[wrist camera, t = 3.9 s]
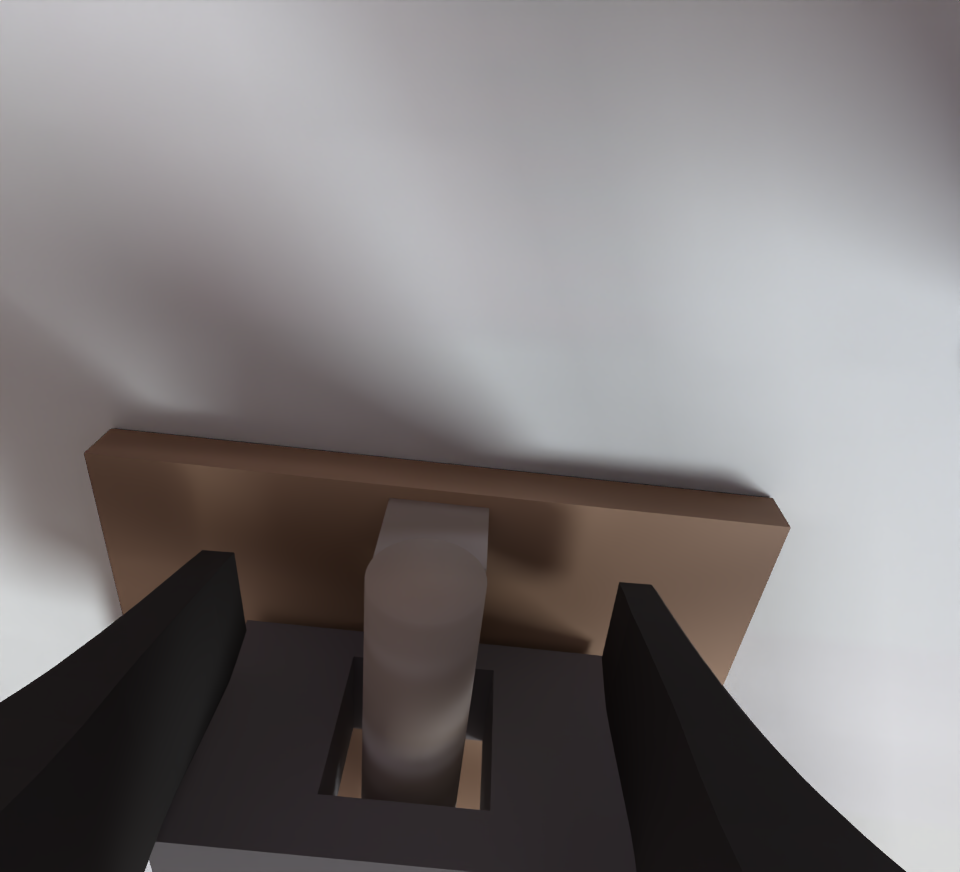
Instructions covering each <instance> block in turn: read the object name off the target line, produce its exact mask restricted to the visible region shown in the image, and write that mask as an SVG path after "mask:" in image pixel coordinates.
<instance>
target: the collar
mask: <svg viewBox="0 0 960 872" xmlns="http://www.w3.org/2000/svg"><path fill="white" fill-rule="evenodd" d="M246 630H247V631H246V634H245V637H244V640H243V643H242V646H241V649H240V652H239V655H238V659H237V661H236V664H235V667H234V670H233V673H232V676H231V678H230V681H229V683H228V686H227V688H226V690H225V692H224V694H223V696H222V698H221V701H220V703H219V705H218V707H217V709H216V711H215V713H214V715H213V717H212V719H211V722H210V724H209V726H208V728H207V730H206V732H205V734H204V736H203V738H202V740H201V742H200V744H199V746H198V748H197V750H196V752H195V755H194V757H193V759H192V761H191V763H190V765H189V767H188V769H187V771H186V773H185V775H184V777H183V779H182V781H181V783H180V786H179V788H178V790H177V792H176V794H175V796H174V798H173V800H172V803H171V805H170V807H169V810H168V812H167V814H166V816H165V819H164V821H163V823H162V826H161V829H160V831H159V834H158V837H157V839H156V842H155V845H154V847H153V850H152V853H151V855H150V858H149V861H150V865H151V868H152V872H636V863H635V856H634V850H633V844H632V838H631V831H630V826H629V822H628V817H627V812H626V807H625V802H624V797H623V792H622V787H621V782H620V777H619V773H618V768H617V763H616V758H615V753H614V748H613V743H612V738H611V733H610V728H609V723H608V717H607V712H606V704H605V693H604V681H603V668H602V656H599V655H589V654H580V653H570V652H560V651H550V650H540V649H530V648H520V647H510V646H500V645H490V644H480V643H479V646H478V653H477V661H476V668H475V675H474V682H473V689H472V696H471V703H470V710H469V717H468V724H467V731H466V738H465V739H468V740H478V741H482V763H481V789H480V810H476V809H466V808H456V807H445V806H435V805H425V804H414V803H404V802H394V801H383V800H373V799H362V798H352V797H342V796H337V795H338V791H339V787H340V783H341V778H342V774H343V770H344V766H345V761H346V757H347V753H348V748H349V744H350V740H351V736H352V731H353V728H356V729H362V718H363V652H364V632H362V631H352V630H342V629H332V628H322V627H312V626H302V625H292V624H282V623H272V622H262V621H253V620H247V622H246Z"/></svg>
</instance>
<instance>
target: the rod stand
mask: <svg viewBox="0 0 960 872" xmlns="http://www.w3.org/2000/svg"><path fill="white" fill-rule="evenodd" d="M84 456H85V460H86V464H87V468H88V473H89V477H90V481H91V485H92V489H93V493H94V497H95V502H96V506H97V510H98V514H99V518H100V522H101V526H102V531H103V535H104V539H105V543H106V547H107V551H108V555H109V560H110V564H111V568H112V572H113V576H114V580H115V584H116V589H117V593H118V597H119V601H120V605H121V609H122V614H123V615H124V614H125V613H126V612H127V611H129V610H130V609H131V608H132V607H134V606H135V605H136V604H137V603H139V602H140V601H141V600H142V599H143V598H145V597H146V596H147V595H148V594H149V593H151V592H152V591H153V590H154V589H155V588H157V587H158V586H159V585H160V584H162V583H163V582H164V581H165V580H166V579H168V578H169V577H170V576H171V575H172V574H174V573H175V572H176V571H177V570H178V569H180V568H181V567H182V566H183V565H184V564H186V563H187V562H188V561H189V560H191V559H192V558H193V557H194V556H196V555H197V554H198V553H199V552H201V551H202V550H208V551H221V552H234V554H235V560H236V566H237V573H238V579H239V585H240V592H241V598H242V605H243V611H244V617H245V624H246V622H247V620H253V621H262V622H272V623H282V624H292V625H302V626H312V627H322V628H332V629H342V630H352V631H362V632H364V652H363V718H362V729H356V728H353V731H352V736H351V740H350V744H349V748H348V753H347V757H346V761H345V766H344V770H343V774H342V778H341V783H340V787H339V791H338V795H337V796H342V797H352V798H362V799H373V800H383V801H394V802H404V803H414V804H425V805H435V806H445V807H456V808H466V809H476V810H480V789H481V763H482V741H478V740H468V739H465V738H466V731H467V724H468V717H469V710H470V703H471V696H472V689H473V682H474V675H475V668H476V661H477V653H478V646H479V643H480V644H490V645H500V646H510V647H520V648H530V649H540V650H550V651H560V652H570V653H580V654H589V655H599V656H602V654H603V650H604V646H605V641H606V637H607V633H608V628H609V624H610V620H611V615H612V611H613V607H614V602H615V598H616V594H617V589H618V585H619V582H625V583H638V584H651V585H652V586H653V587H654V588H655V589H656V591H657V592H658V594H659V595H660V597H661V598H662V600H663V601H664V603H665V604H666V606H667V608H668V609H669V611H670V612H671V614H672V615H673V617H674V618H675V620H676V621H677V623H678V624H679V626H680V627H681V628H682V630H683V631H684V633H685V634H686V636H687V637H688V639H689V640H690V642H691V643H692V644H693V646H694V647H695V649H696V650H697V651H698V653H699V654H700V656H701V657H702V658H703V660H704V661H705V662H706V664H707V665H708V666H709V668H710V669H711V670H712V672H713V673H714V674H715V676H716V677H717V679H718V680H719V681H720V683H721V684H722V685H723V684H724V682H725V679H726V677H727V675H728V672H729V670H730V668H731V665H732V663H733V661H734V658H735V656H736V654H737V651H738V649H739V647H740V644H741V642H742V640H743V637H744V635H745V633H746V630H747V628H748V626H749V623H750V621H751V619H752V616H753V614H754V612H755V609H756V607H757V605H758V602H759V600H760V598H761V595H762V593H763V591H764V588H765V586H766V584H767V581H768V579H769V577H770V574H771V572H772V570H773V567H774V565H775V563H776V560H777V558H778V556H779V553H780V551H781V549H782V546H783V544H784V542H785V539H786V537H787V535H788V532H789V530H790V528H791V527H790V526H789V524H788V522H787V521H786V519H785V517H784V516H783V514H782V512H781V511H780V509H779V508H778V506H777V504H776V503H775V501H774V499H773V498H766V497H756V496H747V495H737V494H728V493H719V492H709V491H700V490H690V489H681V488H671V487H662V486H652V485H643V484H633V483H624V482H614V481H605V480H595V479H586V478H576V477H567V476H557V475H548V474H538V473H529V472H520V471H510V470H501V469H491V468H482V467H472V466H463V465H453V464H444V463H434V462H425V461H415V460H406V459H396V458H387V457H377V456H368V455H358V454H349V453H339V452H330V451H321V450H311V449H302V448H292V447H283V446H273V445H264V444H254V443H245V442H235V441H226V440H216V439H207V438H197V437H188V436H178V435H169V434H159V433H150V432H140V431H131V430H122V429H112V428H111V429H110V430H109V431H108V432H107V433H106V434H104V435H103V436H102V437H101V438H100V439H99V440H98V441H97V442H96V443H95V444H93V445H92V446H91V447H90V448H89V449H88V450H87V451H86V452H85V453H84Z"/></svg>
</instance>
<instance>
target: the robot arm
mask: <svg viewBox="0 0 960 872" xmlns="http://www.w3.org/2000/svg"><path fill="white" fill-rule="evenodd" d="M246 631H247V630H246V624H245V617H244V611H243V605H242V598H241V592H240V585H239V579H238V573H237V566H236V560H235V554H234V552H221V551H208V550H202V551H201V552H199V553H198V554H197V555H196V556H194V557H193V558H192V559H191V560H189V561H188V562H187V563H186V564H184V565H183V566H182V567H181V568H180V569H178V570H177V571H176V572H175V573H174V574H172V575H171V576H170V577H169V578H168V579H166V580H165V581H164V582H163V583H162V584H160V585H159V586H158V587H157V588H155V589H154V590H153V591H152V592H151V593H149V594H148V595H147V596H146V597H145V598H143V599H142V600H141V601H140V602H139V603H137V604H136V605H135V606H134V607H132V608H131V609H130V610H129V611H127V612H126V613H125V614H124V615H122V616H121V617H120V618H119V619H117V620H116V621H115V622H114V623H112V624H111V625H110V626H109V627H107V628H106V629H105V630H103V631H102V632H101V633H99V634H98V635H97V636H95V637H94V638H93V639H91V640H90V641H89V642H87V643H86V644H85V645H83V646H82V647H81V648H79V649H78V650H76V651H75V652H74V653H72V654H71V655H70V656H68V657H67V658H66V659H64V660H63V661H62V662H60V663H59V664H58V665H56V666H55V667H53V668H52V669H50V670H49V671H48V672H46V673H45V674H43V675H42V676H40V677H39V678H37V679H36V680H34V681H33V682H31V683H30V684H28V685H27V686H25V687H24V688H22V689H21V690H19V691H17V692H16V693H14V694H13V695H11V696H10V697H8V698H6V699H5V700H3V701H2V702H0V872H144V871H145V869H146V866H147V863H148V861H149V858H150V855H151V853H152V850H153V847H154V845H155V842H156V839H157V837H158V834H159V831H160V829H161V826H162V823H163V821H164V819H165V816H166V814H167V812H168V810H169V807H170V805H171V803H172V800H173V798H174V796H175V794H176V792H177V790H178V788H179V786H180V783H181V781H182V779H183V777H184V775H185V773H186V771H187V769H188V767H189V765H190V763H191V761H192V759H193V757H194V755H195V752H196V750H197V748H198V746H199V744H200V742H201V740H202V738H203V736H204V734H205V732H206V730H207V728H208V726H209V724H210V722H211V719H212V717H213V715H214V713H215V711H216V709H217V707H218V705H219V703H220V701H221V698H222V696H223V694H224V692H225V690H226V688H227V686H228V683H229V681H230V678H231V676H232V673H233V670H234V667H235V664H236V661H237V659H238V655H239V652H240V649H241V646H242V643H243V640H244V637H245V634H246ZM602 668H603V681H604V693H605V704H606V712H607V717H608V723H609V728H610V733H611V738H612V743H613V748H614V753H615V758H616V763H617V768H618V773H619V777H620V782H621V787H622V792H623V797H624V802H625V807H626V812H627V817H628V822H629V826H630V831H631V838H632V844H633V850H634V856H635V863H636V872H906V871H905V870H904V869H902V868H901V867H900V866H899V865H898V864H896V863H895V862H894V861H893V860H892V859H890V858H889V857H888V856H887V855H886V854H884V853H883V852H882V851H881V850H880V849H879V848H878V847H876V846H875V845H874V844H873V843H872V842H871V841H870V840H868V839H867V838H866V837H865V836H864V835H863V834H862V833H861V832H860V831H859V830H857V829H856V828H855V827H854V826H853V825H852V824H851V823H850V822H849V821H848V820H847V819H846V818H845V817H843V816H842V815H841V814H840V813H839V812H838V811H837V810H836V809H835V808H834V807H833V806H832V805H830V804H829V803H828V802H827V801H826V800H825V799H824V798H823V797H822V796H821V795H820V794H819V793H818V792H817V791H816V790H815V789H814V788H813V787H812V786H811V785H810V784H809V783H808V782H807V781H806V780H805V779H804V778H803V777H802V776H801V775H800V774H799V773H798V772H797V771H796V770H795V769H794V768H793V767H792V766H791V765H790V764H789V763H788V762H787V761H786V759H785V758H784V757H783V756H782V755H781V754H780V753H779V752H778V751H777V750H776V749H775V748H774V746H773V745H772V744H771V743H770V742H769V741H768V740H767V739H766V737H765V736H764V735H763V734H762V733H761V732H760V731H759V729H758V728H757V727H756V726H755V725H754V724H753V722H752V721H751V720H750V719H749V717H748V716H747V715H746V714H745V713H744V711H743V710H742V709H741V708H740V707H739V705H738V704H737V703H736V702H735V700H734V699H733V698H732V697H731V695H730V694H729V693H728V692H727V690H726V689H725V688H724V686H723V685H722V684H721V683H720V681H719V680H718V679H717V677H716V676H715V674H714V673H713V672H712V670H711V669H710V668H709V666H708V665H707V664H706V662H705V661H704V660H703V658H702V657H701V656H700V654H699V653H698V651H697V650H696V649H695V647H694V646H693V644H692V643H691V642H690V640H689V639H688V637H687V636H686V634H685V633H684V631H683V630H682V628H681V627H680V626H679V624H678V623H677V621H676V620H675V618H674V617H673V615H672V614H671V612H670V611H669V609H668V608H667V606H666V604H665V603H664V601H663V600H662V598H661V597H660V595H659V594H658V592H657V591H656V589H655V588H654V587H653V586H652V585H651V584H638V583H625V582H619V585H618V589H617V594H616V598H615V602H614V607H613V611H612V615H611V620H610V624H609V628H608V633H607V637H606V641H605V646H604V650H603V654H602Z"/></svg>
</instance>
